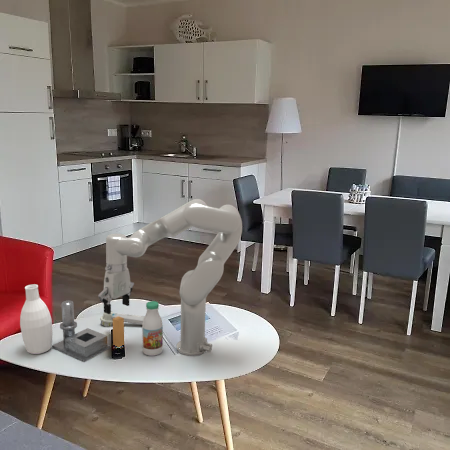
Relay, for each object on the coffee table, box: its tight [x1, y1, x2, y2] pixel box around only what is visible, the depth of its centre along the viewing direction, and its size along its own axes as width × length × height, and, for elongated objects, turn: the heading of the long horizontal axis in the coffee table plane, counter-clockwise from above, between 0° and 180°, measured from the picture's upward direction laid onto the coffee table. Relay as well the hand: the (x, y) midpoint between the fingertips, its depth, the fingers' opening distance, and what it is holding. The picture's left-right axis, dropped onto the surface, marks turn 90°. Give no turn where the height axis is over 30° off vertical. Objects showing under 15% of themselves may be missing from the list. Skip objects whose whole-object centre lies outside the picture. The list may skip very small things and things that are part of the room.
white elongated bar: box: [99, 310, 145, 328], centre depth 198 cm, size 5×7×25 cm
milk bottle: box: [141, 300, 164, 357], centre depth 175 cm, size 8×8×20 cm
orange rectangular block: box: [112, 316, 125, 347], centre depth 178 cm, size 3×3×12 cm
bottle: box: [19, 283, 54, 355], centre depth 172 cm, size 11×11×25 cm
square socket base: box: [51, 299, 111, 363], centre depth 176 cm, size 19×13×17 cm
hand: (116, 308), depth 176 cm, fingers open, 9 cm apart
